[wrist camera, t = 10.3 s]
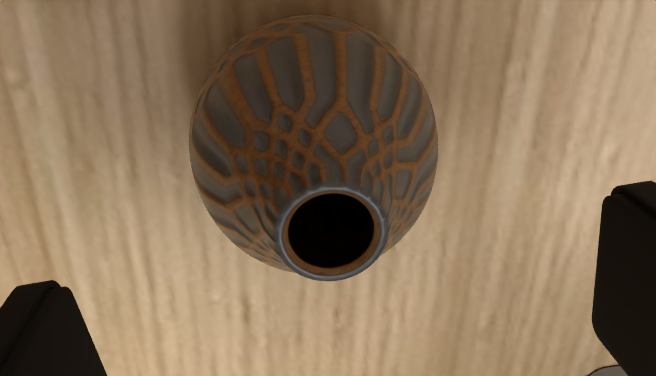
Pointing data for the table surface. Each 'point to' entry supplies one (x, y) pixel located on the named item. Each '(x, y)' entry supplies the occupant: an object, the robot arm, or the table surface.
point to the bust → (610, 372)
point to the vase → (313, 146)
